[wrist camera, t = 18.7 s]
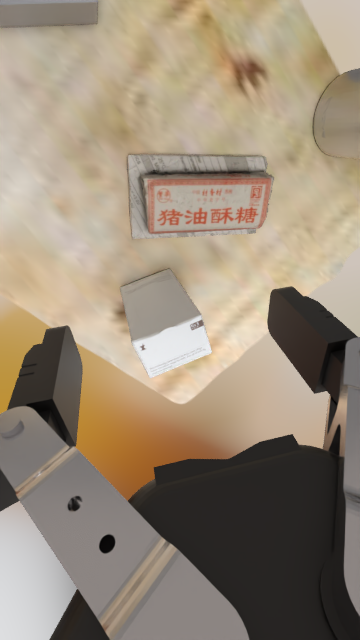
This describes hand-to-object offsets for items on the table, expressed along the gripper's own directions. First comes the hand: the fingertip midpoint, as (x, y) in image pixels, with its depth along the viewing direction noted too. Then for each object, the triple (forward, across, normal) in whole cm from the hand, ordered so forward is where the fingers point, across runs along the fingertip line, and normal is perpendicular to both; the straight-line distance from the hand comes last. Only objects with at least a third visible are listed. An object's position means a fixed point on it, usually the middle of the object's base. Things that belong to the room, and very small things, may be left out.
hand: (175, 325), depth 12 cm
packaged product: (+32, -9, +3) cm, 33 cm away
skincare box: (+30, -1, +15) cm, 34 cm away
